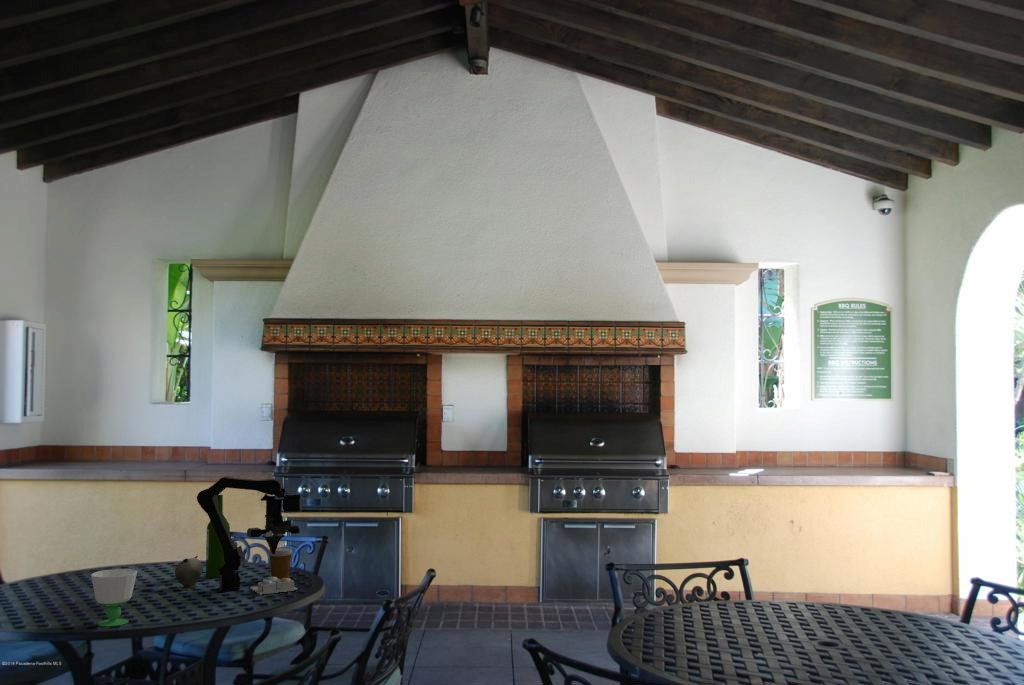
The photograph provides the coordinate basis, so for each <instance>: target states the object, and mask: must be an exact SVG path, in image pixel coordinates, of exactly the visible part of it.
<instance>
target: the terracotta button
mask: <svg viewBox="0 0 1024 685" xmlns="http://www.w3.org/2000/svg"><path fill="white" fill-rule="evenodd" d="M290 579H291V578H290V577H288V578H282V579H280V582H290Z"/></svg>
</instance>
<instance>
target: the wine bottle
mask: <svg viewBox="0 0 1024 685" xmlns="http://www.w3.org/2000/svg"><path fill="white" fill-rule="evenodd" d="M223 495H224V494H219V495H217V497H218V503H219V510H220V513H221V515H222V517H223V520H224V522H225V524H226V526H227V529H228V531H229V533H231V527H230V523H229V521H228V520H227V518H226V516H225V515H224V506H223V505H224V502H223V500H224V498H223V497H224V496H223ZM205 546H206V547H205V548H206V550H205V578H206V577H208V578H207V579H210V578H218V579H220V573H219V569H220V568H221V567H222V566H223V565H224V564H225V562H224V557H223V548H222V546H221V543H220V541H219V539H218V537H217V534H216V532H215V530H214V527H213V525H212V523H211V521H210V520H209V522H208V523H207V527H206V545H205Z"/></svg>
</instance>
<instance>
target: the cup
mask: <svg viewBox="0 0 1024 685" xmlns="http://www.w3.org/2000/svg"><path fill="white" fill-rule="evenodd" d="M137 575H138V571H137V570H135V569H129V568H115V569H105V570H99V571H95V572H93V573H91V575H90V577H91V582H92V587H93V592H94V593H93V594H94V597H95V600H96V603H98V604H100V605H103V606H106V607H107V608H106V610H105V616H106V617H107V619H104V620H101V621H99V622H98V623H97V625H98V626H99V627H106V628H107V627H117V626H123V625H125V624H127V623H129V620H128V619H126V618H120V616H121V614H122V608H121V605H122V604H125V603H126V602H128V601H129V600H130V599H131V598H132V597H133V592H134V589H135V584H136V580H137V579H136V578H137Z"/></svg>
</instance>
